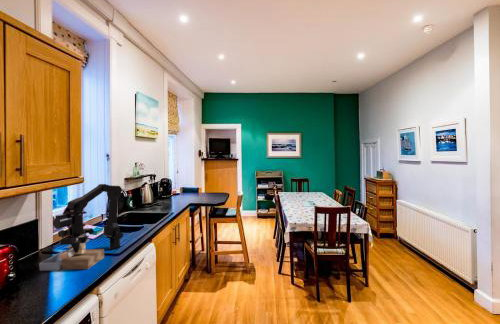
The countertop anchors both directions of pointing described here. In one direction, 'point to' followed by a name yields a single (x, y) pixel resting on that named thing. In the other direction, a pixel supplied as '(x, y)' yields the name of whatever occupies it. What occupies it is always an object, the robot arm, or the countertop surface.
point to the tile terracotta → (64, 256)
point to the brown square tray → (83, 259)
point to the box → (52, 263)
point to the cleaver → (72, 247)
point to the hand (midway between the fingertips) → (78, 251)
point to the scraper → (80, 251)
